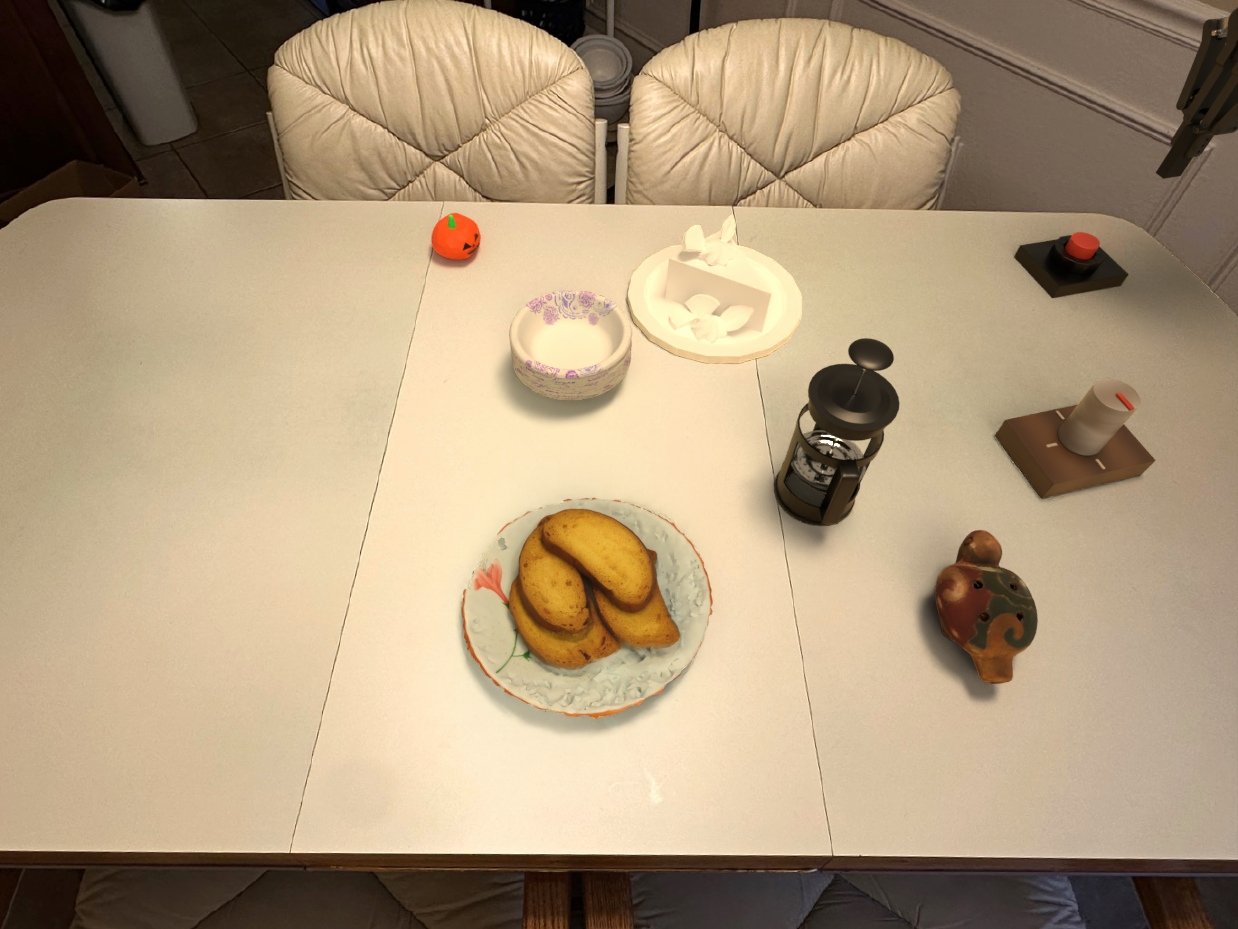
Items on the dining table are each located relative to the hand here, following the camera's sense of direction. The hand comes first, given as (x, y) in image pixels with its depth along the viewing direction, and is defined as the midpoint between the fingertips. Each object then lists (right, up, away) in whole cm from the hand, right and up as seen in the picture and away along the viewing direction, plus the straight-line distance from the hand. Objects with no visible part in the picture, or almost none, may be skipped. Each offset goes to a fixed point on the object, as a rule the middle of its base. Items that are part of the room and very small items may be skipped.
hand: (1168, 174), depth 97 cm
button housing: (-4, -9, +16) cm, 18 cm away
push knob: (-4, -7, +13) cm, 15 cm away
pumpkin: (-97, -6, +15) cm, 98 cm away
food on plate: (-75, -53, -20) cm, 94 cm away
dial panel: (-17, -37, -6) cm, 41 cm away
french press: (-49, -42, -10) cm, 65 cm away
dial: (-17, -35, -8) cm, 40 cm away
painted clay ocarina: (-36, -55, -20) cm, 68 cm away
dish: (-58, -15, +10) cm, 61 cm away
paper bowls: (-78, -26, 0) cm, 83 cm away
